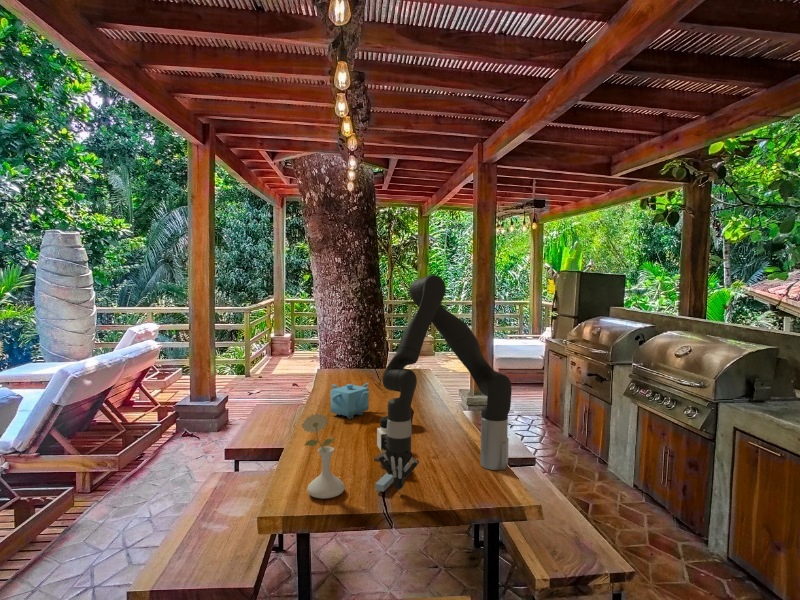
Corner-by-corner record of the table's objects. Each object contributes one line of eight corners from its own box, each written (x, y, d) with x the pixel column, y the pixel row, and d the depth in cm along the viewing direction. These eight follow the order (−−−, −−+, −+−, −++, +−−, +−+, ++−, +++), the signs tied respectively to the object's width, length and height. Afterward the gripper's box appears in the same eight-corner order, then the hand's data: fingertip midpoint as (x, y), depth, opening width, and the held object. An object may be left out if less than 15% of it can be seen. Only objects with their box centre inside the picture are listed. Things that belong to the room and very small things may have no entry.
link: (394, 466, 160) (395, 460, 160) (409, 469, 158) (409, 463, 158) (371, 489, 143) (371, 482, 143) (387, 492, 141) (387, 485, 141)
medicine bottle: (381, 452, 175) (381, 421, 175) (376, 445, 182) (377, 415, 182) (399, 450, 177) (399, 419, 177) (394, 444, 184) (394, 414, 184)
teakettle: (330, 421, 212) (330, 389, 211) (330, 409, 231) (330, 380, 230) (371, 419, 215) (371, 388, 214) (368, 408, 233) (368, 379, 233)
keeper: (393, 467, 162) (393, 452, 162) (384, 475, 155) (384, 460, 155) (382, 465, 164) (382, 450, 163) (374, 473, 157) (374, 458, 157)
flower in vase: (346, 484, 148) (346, 407, 147) (343, 502, 137) (342, 419, 135) (305, 485, 148) (304, 408, 146) (298, 502, 136) (298, 419, 135)
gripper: (423, 432, 142) (423, 487, 143) (384, 426, 147) (383, 479, 148) (415, 440, 135) (414, 498, 136) (374, 434, 140) (373, 489, 141)
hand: (398, 488), depth 142 cm, fingers closed
